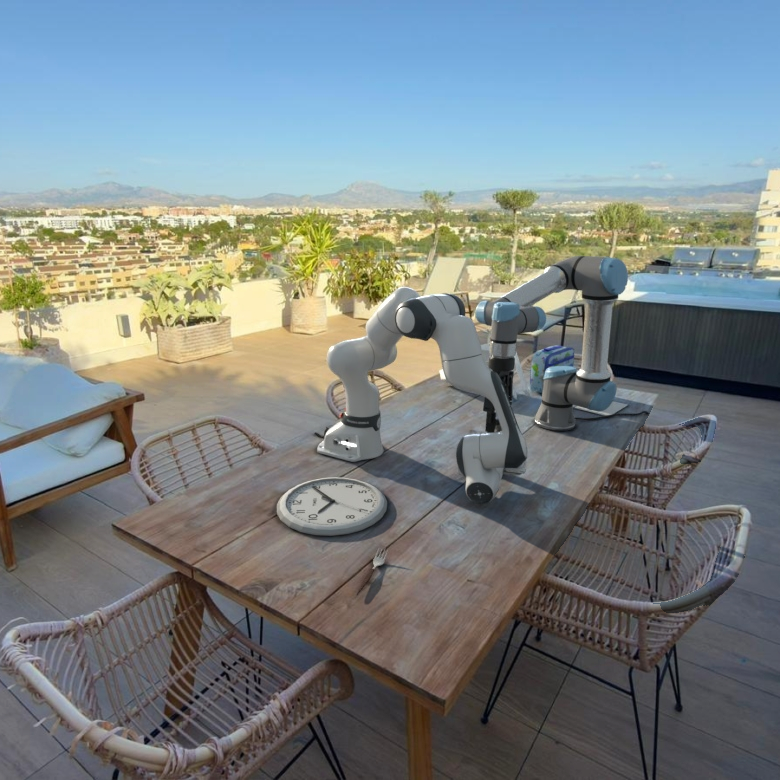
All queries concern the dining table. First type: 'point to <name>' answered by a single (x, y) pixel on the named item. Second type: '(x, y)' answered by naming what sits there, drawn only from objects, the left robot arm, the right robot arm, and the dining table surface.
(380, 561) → the fork
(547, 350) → the lunch box
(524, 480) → the dining table surface
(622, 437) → the dining table surface
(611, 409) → the invitation card
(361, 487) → the wall clock
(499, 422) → the lid
